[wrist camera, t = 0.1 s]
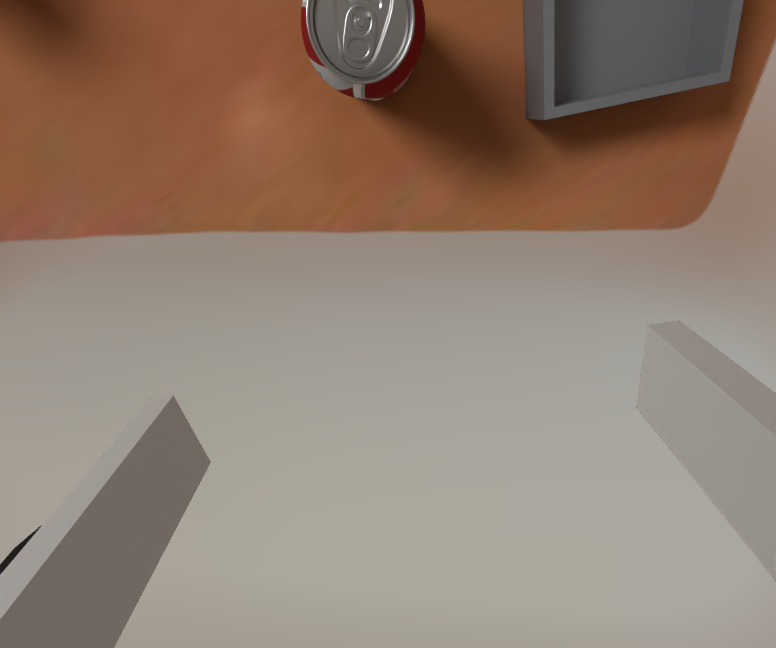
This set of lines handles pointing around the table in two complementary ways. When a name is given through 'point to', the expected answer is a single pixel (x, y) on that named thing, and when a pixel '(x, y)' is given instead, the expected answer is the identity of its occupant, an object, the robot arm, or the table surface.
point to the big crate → (623, 51)
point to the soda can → (364, 43)
